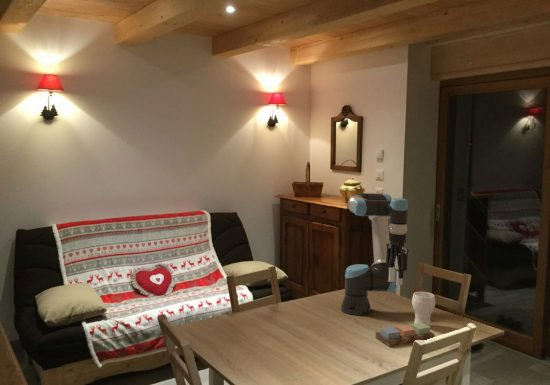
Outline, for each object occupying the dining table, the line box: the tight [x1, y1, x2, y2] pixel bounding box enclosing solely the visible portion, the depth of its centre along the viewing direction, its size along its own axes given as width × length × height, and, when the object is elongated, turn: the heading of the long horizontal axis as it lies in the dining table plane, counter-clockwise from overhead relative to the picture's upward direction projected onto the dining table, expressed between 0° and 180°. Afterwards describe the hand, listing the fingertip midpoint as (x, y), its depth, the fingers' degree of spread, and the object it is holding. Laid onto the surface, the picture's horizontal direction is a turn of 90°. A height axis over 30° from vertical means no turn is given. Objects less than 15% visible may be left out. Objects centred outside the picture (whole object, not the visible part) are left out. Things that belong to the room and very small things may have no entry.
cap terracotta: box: [395, 324, 415, 337], centre depth 215 cm, size 6×6×3 cm
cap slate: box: [379, 326, 400, 340], centre depth 212 cm, size 6×6×3 cm
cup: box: [411, 291, 436, 328], centre depth 231 cm, size 11×11×15 cm
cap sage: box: [410, 323, 431, 335], centre depth 218 cm, size 6×6×3 cm
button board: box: [375, 331, 436, 348], centre depth 215 cm, size 24×10×2 cm, turn 111°
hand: (395, 283), depth 221 cm, fingers open, 5 cm apart
